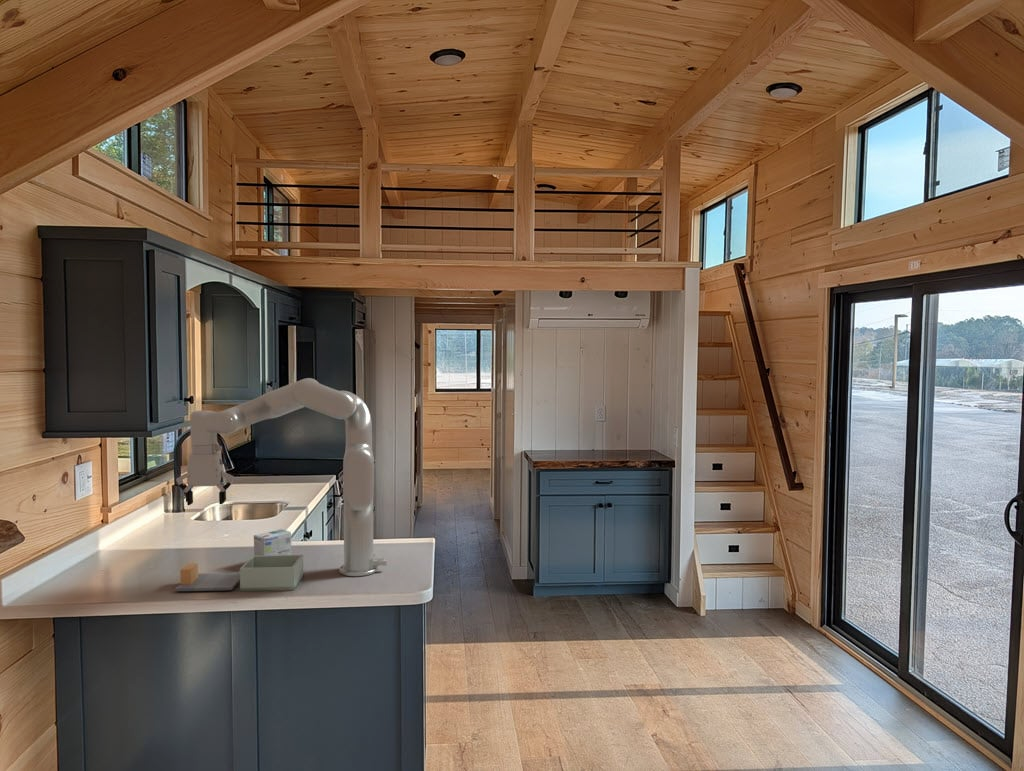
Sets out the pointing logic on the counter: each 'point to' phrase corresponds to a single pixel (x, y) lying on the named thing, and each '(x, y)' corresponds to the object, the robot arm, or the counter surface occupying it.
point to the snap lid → (206, 580)
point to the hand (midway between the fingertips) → (206, 503)
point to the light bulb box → (272, 543)
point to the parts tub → (271, 573)
